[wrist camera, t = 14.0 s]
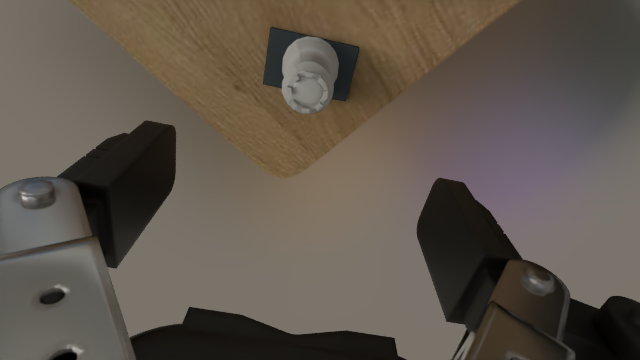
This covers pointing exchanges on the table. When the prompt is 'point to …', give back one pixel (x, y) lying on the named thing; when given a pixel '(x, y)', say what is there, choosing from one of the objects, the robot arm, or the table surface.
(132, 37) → the table surface
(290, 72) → the rook chess piece
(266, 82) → the slate mat
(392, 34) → the table surface
